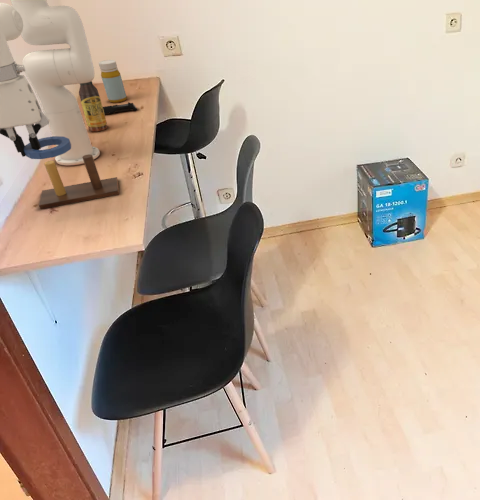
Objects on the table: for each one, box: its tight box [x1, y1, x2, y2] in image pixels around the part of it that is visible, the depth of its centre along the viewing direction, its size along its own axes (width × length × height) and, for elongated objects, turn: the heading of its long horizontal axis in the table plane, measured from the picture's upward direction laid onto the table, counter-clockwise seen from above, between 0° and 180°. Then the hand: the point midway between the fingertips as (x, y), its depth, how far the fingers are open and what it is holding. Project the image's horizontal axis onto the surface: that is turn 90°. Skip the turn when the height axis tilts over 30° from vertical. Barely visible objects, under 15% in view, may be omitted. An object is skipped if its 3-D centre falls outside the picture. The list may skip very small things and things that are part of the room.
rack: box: [38, 154, 120, 210], centre depth 134 cm, size 9×19×10 cm, turn 112°
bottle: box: [98, 59, 128, 104], centre depth 201 cm, size 7×7×15 cm
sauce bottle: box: [78, 80, 108, 133], centre depth 173 cm, size 6×6×20 cm
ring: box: [24, 135, 71, 160], centre depth 120 cm, size 10×10×2 cm
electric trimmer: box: [102, 101, 138, 115], centre depth 192 cm, size 4×16×3 cm, turn 113°
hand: (30, 152), depth 119 cm, fingers closed on ring, 2 cm apart
